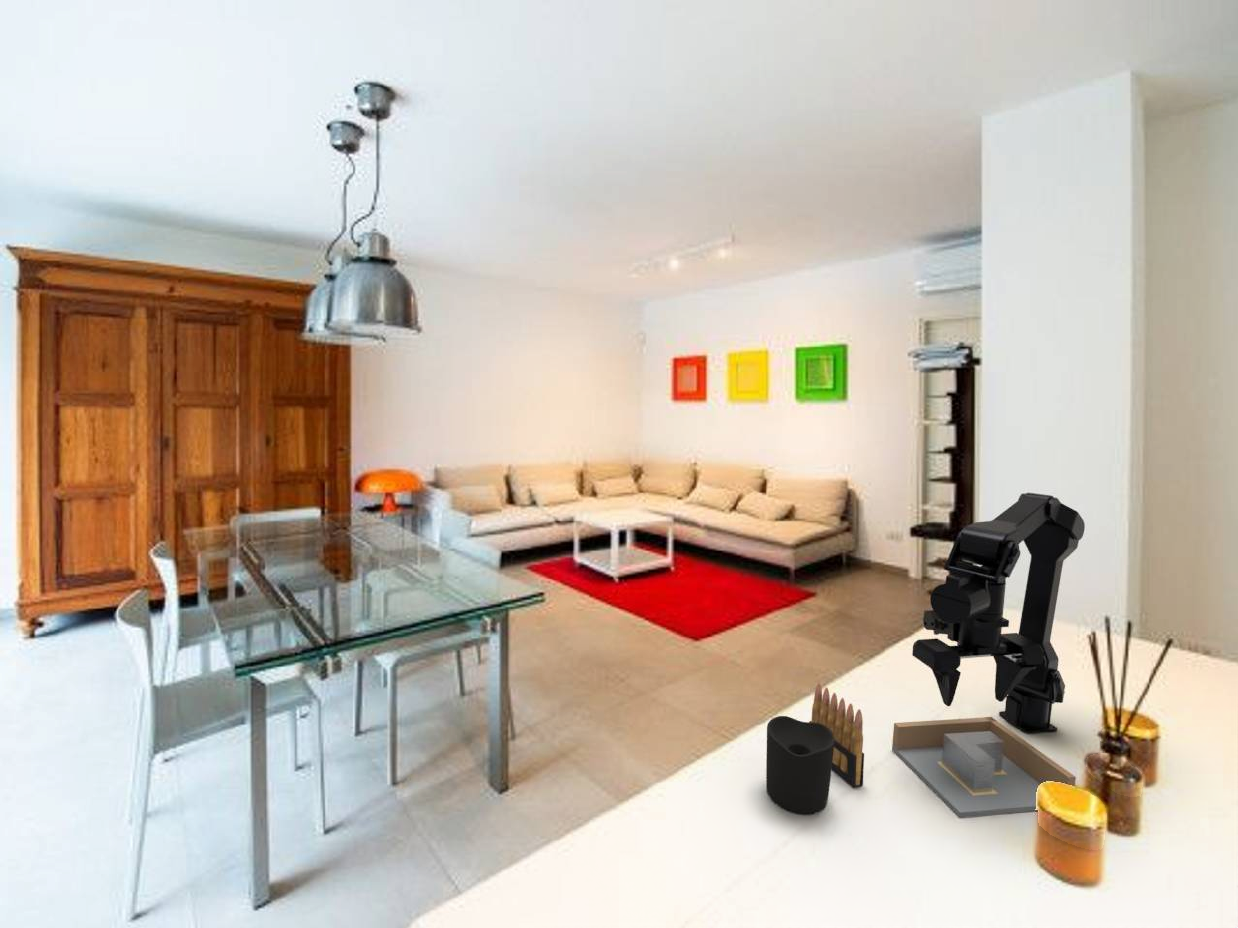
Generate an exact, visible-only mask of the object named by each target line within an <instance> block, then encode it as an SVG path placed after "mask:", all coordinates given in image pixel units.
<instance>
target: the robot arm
mask: <svg viewBox="0 0 1238 928" xmlns="http://www.w3.org/2000/svg"><path fill="white" fill-rule="evenodd" d="M1085 526H1086V525H1085V521H1084V519H1083V517H1082V516H1081V514H1080V513H1079V512H1078V511H1077V510H1075V509H1073V508H1072V507H1069V506H1068V505H1066V504H1064V503H1063V502H1061V501H1060V499H1059V498H1058V497H1055V496H1053V495H1050V494H1044V493H1043V494H1041V493H1033V492H1026V493H1024V492H1023V493H1021V494H1020V495H1019V497H1018V499H1017V501H1015V502H1014V503H1013V504H1012V505H1010V506H1009V507H1008V508H1007V509H1005V510H1004V511H1002V513H1000V514H999V515H997V516H996V517H995V518H994V519H991V520H989V521H988V520H986V521H976V522H973V523H971V524H968V525H967V526H965V527H964V528H963V529H962V530H960V531H959V532H958V534H957V536H956V538H955V541H954V543H953V546H952V548H951V551H950V553H949V555H948V557H947V559H946V562H945V565H944V568H943V569H944V571H946V572H952V573H951V574H947V575H946V577H945V582H944V583H941V584H939V585H937V586H936V587H935V588H934V589H933V590H932V593H931V594H930V598H929V600H930V602H929V603H930V605H931V609H929V610H928V609H926V610H924V612H923V618H922V620H923V621H922V622H923V627H924V629H925V630H926V631H933V635H934V636H935V635H936V636H938V635H947V639H948V640H949V641H951V642H955V643H956V644H957V645H949V644H947V643H946V642H944V641H943V640H940V639H939V638H938V637H937V638H936V637H935V638H923V639H917V640H915V641H914V642H913V646H912V653H911V655H912V657H914V658H915V659H917V660H919V661H920V662H921V663H922V664H924V665H925V666H927V667H928V668H929V669H931V671H932V673H933V675H934V678H935V682H936V683H937V688H938V689H939V693H940V696H941V699H942V702H943V704H944V705H945V706H946V707H950V706H951V705H952V703H953V701H954V698H955V695H956V691H957V688H958V685H959V680H960V678H961V673H962V672H961V671H960V670H958V669H959V668H960V666H961V659H973V658H974V659H976V658H986V657H993V659H994V661H995V665H996V666H995V679H994V680H995V681H994V696H995V700H996V701H998V702H1004V701H1005V706H1004V707H1005V708H1004V710H1003V711H1002V710H1001V711H999V712H998V715H999V716H1001V717H1002V718H1003V719H1005V720H1006V721H1008V722H1010V723H1011V724H1012V725H1014V726H1015V727H1017V729H1019V730H1020V731H1022V732H1024V733H1026V734H1035V733H1036V734H1037V733H1049V732H1050V733H1051V732H1058V727H1057V726H1055V725H1053V724H1052V723H1051V717H1052V710H1053V709H1052V708H1053V704H1055V703H1056V704H1058V703H1059V704H1062V703H1064V698H1065V690H1066V689H1065V688H1066V684H1065V682H1064V680H1063V677H1062V675H1061V672H1060V671H1059V670H1058V669H1059V662H1060V661H1059V657H1058V655H1057V653H1056V650H1055V648H1054V647H1053V644H1052V643H1051V639H1052V638H1051V637H1052V633H1053V632H1052V631H1053V625H1054V620H1055V619H1054V618H1055V613H1056V606H1057V602H1058V601H1057V600H1058V596H1059V588H1060V584H1061V576H1062V571H1063V565H1064V562H1065V560H1066V559H1067V558H1068V557H1070V556H1071V555H1072V554H1073V553H1074V552H1075V551H1076V550H1077V549H1078V545H1079V541H1080V540H1082V538H1083V536H1084V534H1085ZM1022 542H1024V544H1025V547H1026V548H1027V551H1028V553H1029V555H1030V562H1029V567H1028V573H1027V580H1026V585H1025V592H1024V599H1023V604H1022V611H1021V616H1020V623H1019V629H1018V633H1017V632H1012V633H1011V632H1010V633H1002V629H1003V628H1009V626H1010V620H1009V619H1006V618H1005V617H1004V607H1005V597H1006V596H1005V595H1006V594H1005V593H1006V585H1007V583H1006V582H1007V578H1008V579H1009V578H1010V577H1011V575H1012V573H1013V571H1014V569H1015V567H1016V565H1017V563H1018V560H1019V559H1020V557H1021V550H1020V543H1022ZM953 573H954V574H953Z"/></svg>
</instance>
